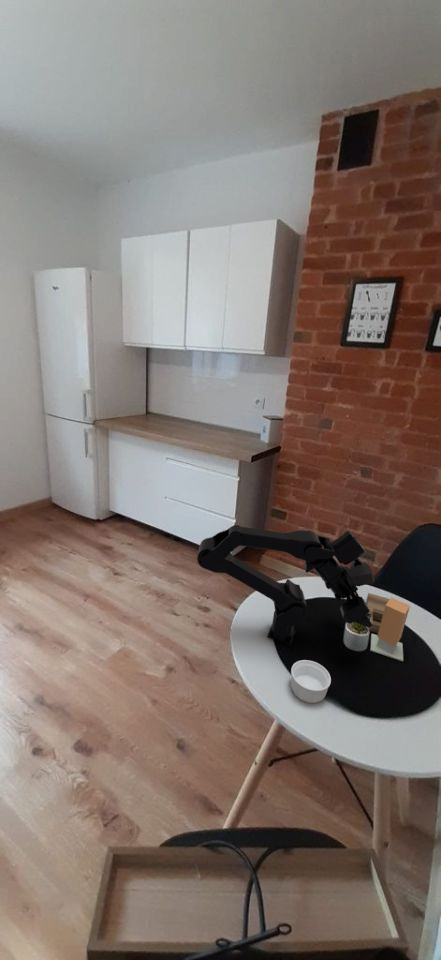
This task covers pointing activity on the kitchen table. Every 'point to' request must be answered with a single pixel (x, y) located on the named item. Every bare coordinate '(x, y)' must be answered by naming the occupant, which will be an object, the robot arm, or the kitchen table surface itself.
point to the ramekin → (309, 681)
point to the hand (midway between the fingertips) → (365, 614)
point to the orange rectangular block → (392, 624)
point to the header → (376, 610)
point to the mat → (396, 653)
